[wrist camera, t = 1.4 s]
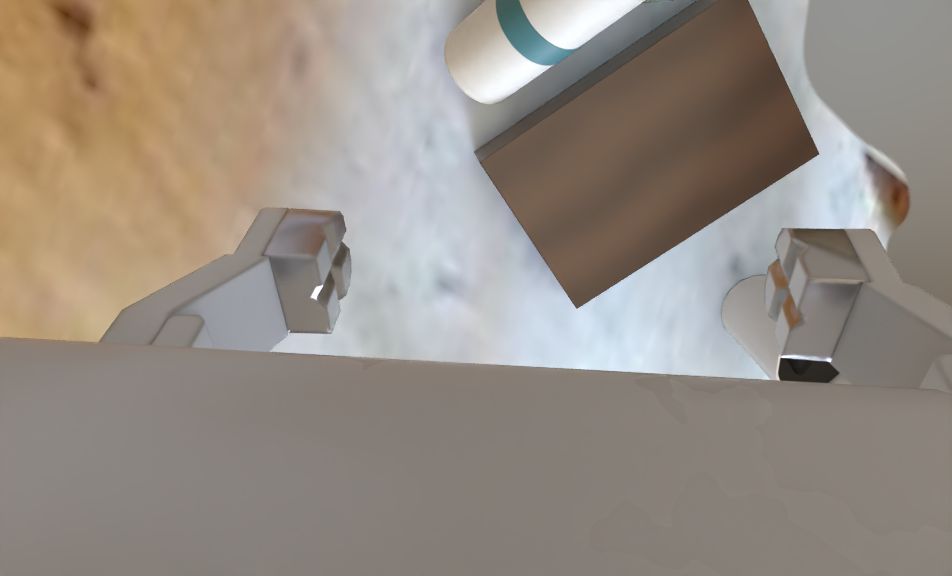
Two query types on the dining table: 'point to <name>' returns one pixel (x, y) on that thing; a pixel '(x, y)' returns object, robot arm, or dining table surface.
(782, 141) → the chopping block
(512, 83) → the paper roll
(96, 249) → the dining table surface
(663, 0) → the green block
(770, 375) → the white cup
